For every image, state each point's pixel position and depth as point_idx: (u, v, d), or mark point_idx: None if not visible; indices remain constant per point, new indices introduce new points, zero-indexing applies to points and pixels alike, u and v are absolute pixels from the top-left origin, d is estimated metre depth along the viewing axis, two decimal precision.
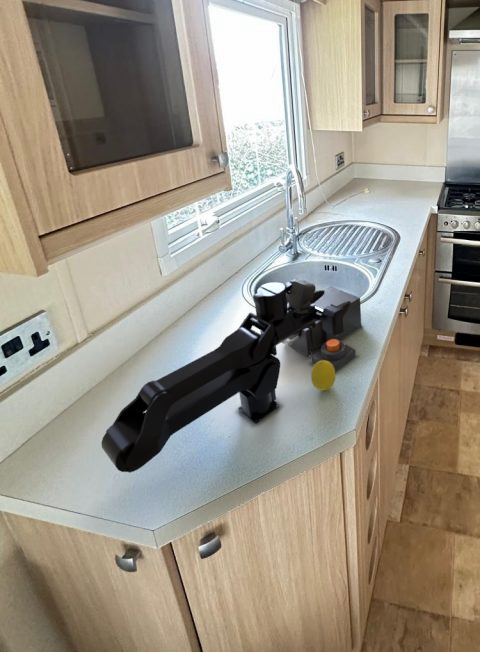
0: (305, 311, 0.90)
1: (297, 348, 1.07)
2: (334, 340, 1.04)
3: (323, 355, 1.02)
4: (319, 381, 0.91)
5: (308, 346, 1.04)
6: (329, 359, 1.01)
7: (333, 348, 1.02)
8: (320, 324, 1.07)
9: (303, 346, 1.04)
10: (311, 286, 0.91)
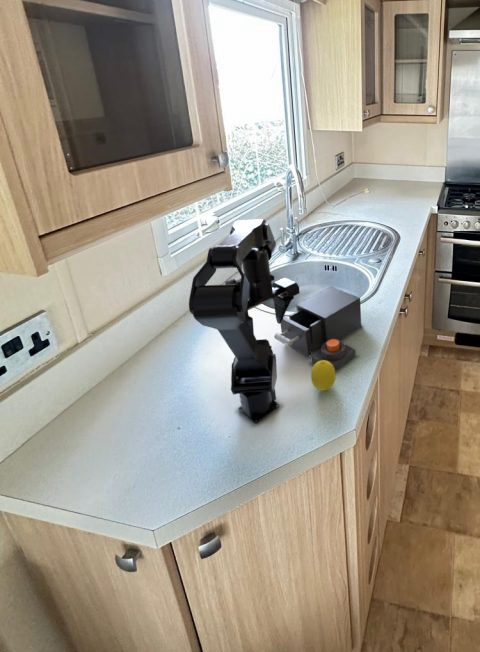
0: None
1: (297, 348, 1.07)
2: (334, 340, 1.04)
3: (323, 355, 1.02)
4: (319, 381, 0.91)
5: (308, 346, 1.04)
6: (329, 359, 1.01)
7: (333, 348, 1.02)
8: (320, 324, 1.07)
9: (303, 346, 1.04)
10: None
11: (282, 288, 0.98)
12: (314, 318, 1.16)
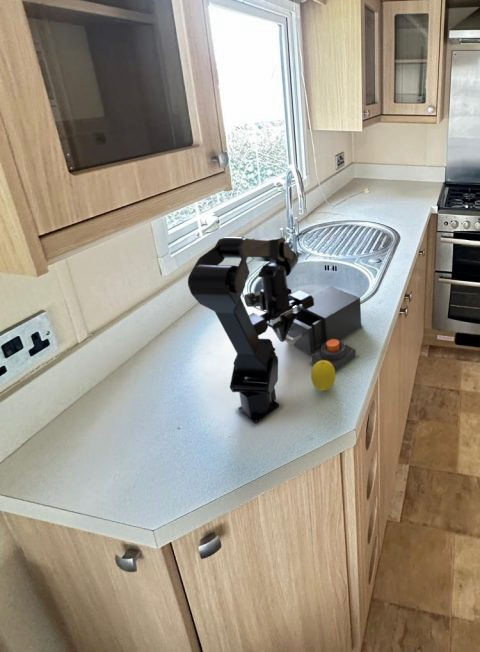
0: None
1: (299, 346, 1.07)
2: (334, 340, 1.04)
3: (323, 355, 1.02)
4: (319, 381, 0.91)
5: (311, 344, 1.05)
6: (329, 359, 1.01)
7: (333, 348, 1.02)
8: (323, 322, 1.07)
9: (306, 344, 1.05)
10: None
11: (298, 301, 1.03)
12: (316, 317, 1.17)
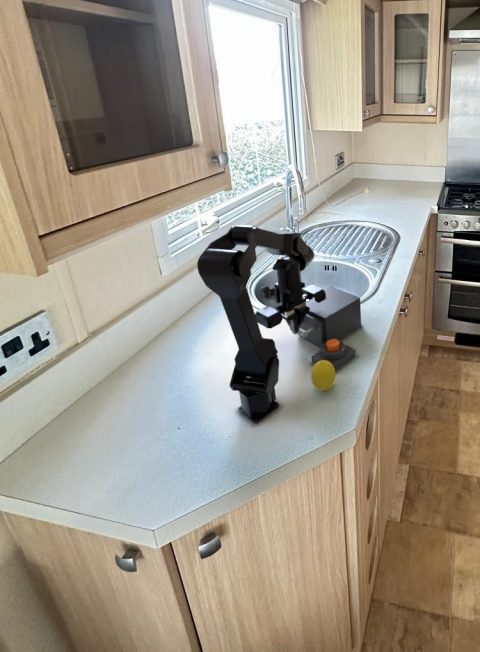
0: None
1: (311, 339, 1.10)
2: (334, 340, 1.04)
3: (323, 355, 1.02)
4: (319, 381, 0.91)
5: (322, 337, 1.08)
6: (329, 359, 1.01)
7: (333, 348, 1.02)
8: None
9: (318, 337, 1.08)
10: None
11: (310, 294, 1.06)
12: None
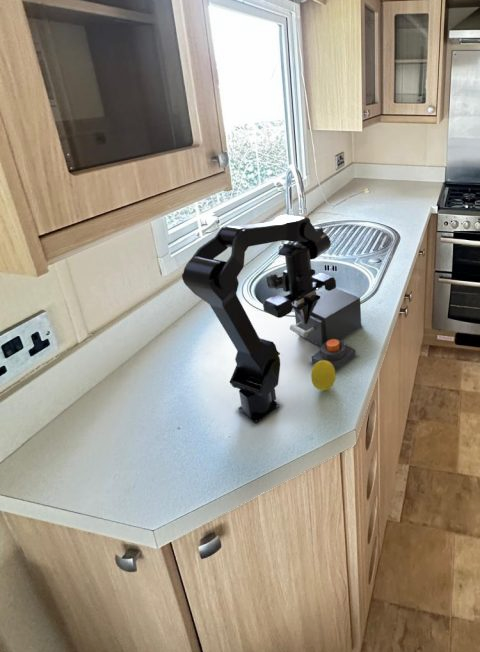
0: None
1: (311, 339, 1.10)
2: (334, 340, 1.04)
3: (323, 355, 1.02)
4: (319, 381, 0.91)
5: (322, 337, 1.08)
6: (329, 359, 1.01)
7: (333, 348, 1.02)
8: None
9: (318, 337, 1.08)
10: None
11: (320, 282, 1.02)
12: None
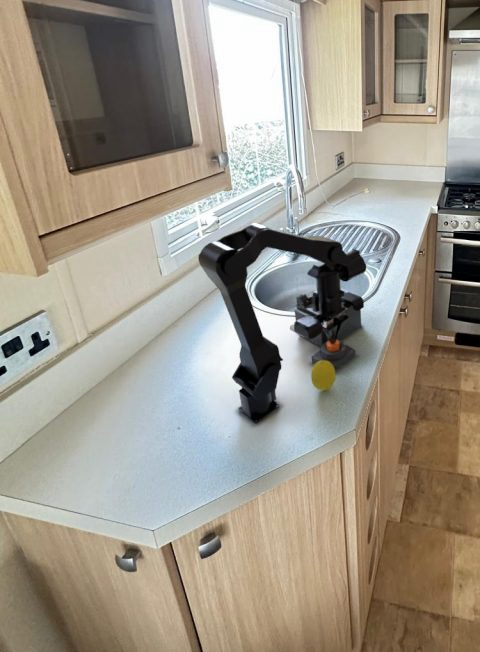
0: None
1: (311, 339, 1.10)
2: None
3: (323, 355, 1.02)
4: (319, 381, 0.91)
5: (322, 337, 1.08)
6: (329, 359, 1.01)
7: (333, 348, 1.02)
8: None
9: (318, 337, 1.08)
10: None
11: (349, 302, 1.03)
12: None
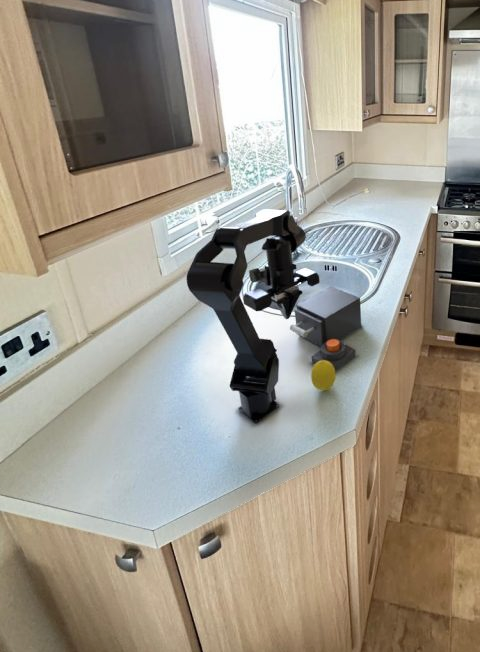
0: None
1: (311, 339, 1.10)
2: (334, 340, 1.04)
3: (323, 355, 1.02)
4: (319, 381, 0.91)
5: (322, 337, 1.08)
6: (329, 359, 1.01)
7: (333, 348, 1.02)
8: None
9: (318, 337, 1.08)
10: None
11: (303, 277, 1.01)
12: None
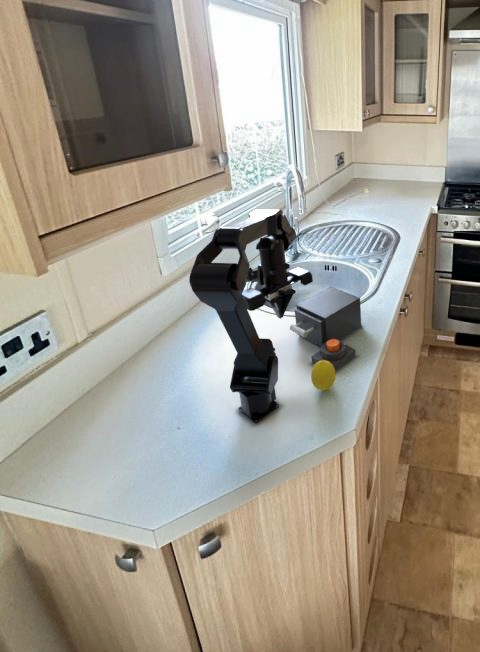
0: None
1: (311, 339, 1.10)
2: (334, 340, 1.04)
3: (323, 355, 1.02)
4: (319, 381, 0.91)
5: (322, 337, 1.08)
6: (329, 359, 1.01)
7: (333, 348, 1.02)
8: None
9: (318, 337, 1.08)
10: None
11: (296, 276, 1.02)
12: None
